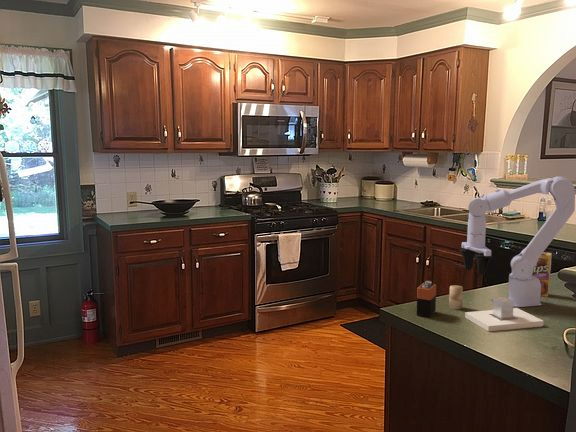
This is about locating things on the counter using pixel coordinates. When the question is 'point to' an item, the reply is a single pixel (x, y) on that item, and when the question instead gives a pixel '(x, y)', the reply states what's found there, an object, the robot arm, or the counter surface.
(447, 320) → the counter surface
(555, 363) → the counter surface
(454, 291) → the round dowel
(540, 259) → the candy box
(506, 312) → the square peg
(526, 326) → the bore board
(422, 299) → the battery
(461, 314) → the counter surface
